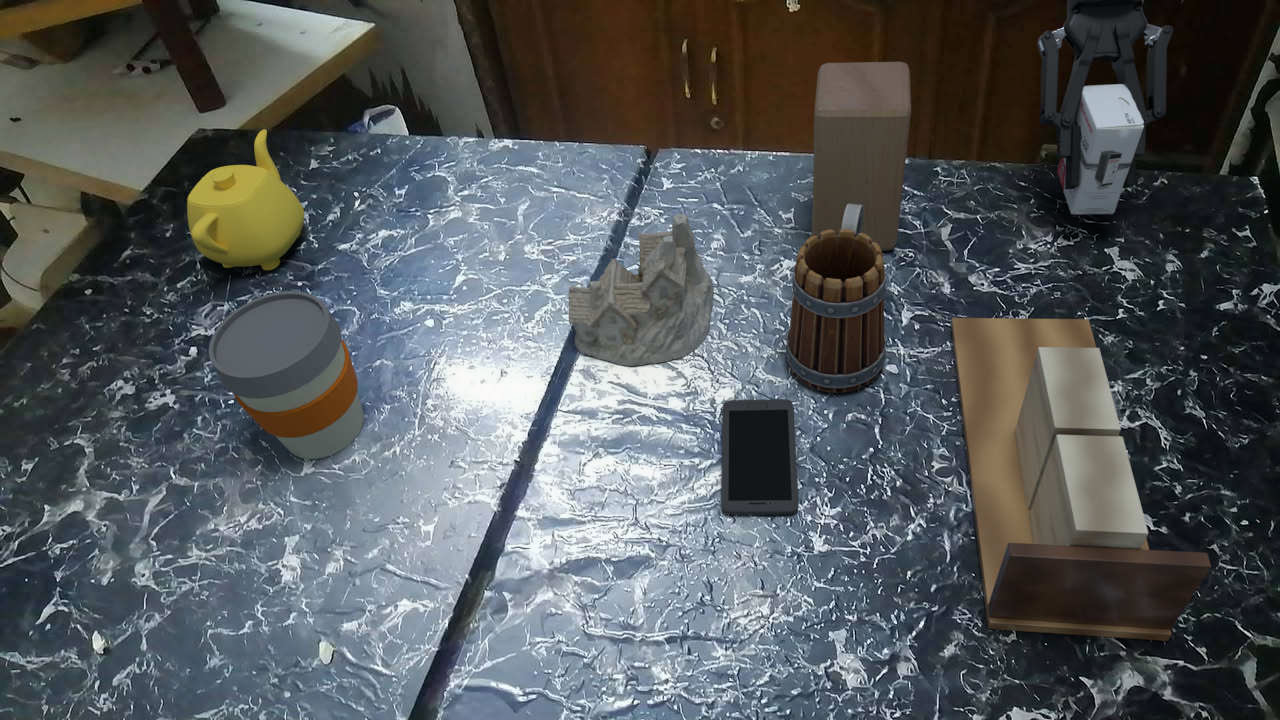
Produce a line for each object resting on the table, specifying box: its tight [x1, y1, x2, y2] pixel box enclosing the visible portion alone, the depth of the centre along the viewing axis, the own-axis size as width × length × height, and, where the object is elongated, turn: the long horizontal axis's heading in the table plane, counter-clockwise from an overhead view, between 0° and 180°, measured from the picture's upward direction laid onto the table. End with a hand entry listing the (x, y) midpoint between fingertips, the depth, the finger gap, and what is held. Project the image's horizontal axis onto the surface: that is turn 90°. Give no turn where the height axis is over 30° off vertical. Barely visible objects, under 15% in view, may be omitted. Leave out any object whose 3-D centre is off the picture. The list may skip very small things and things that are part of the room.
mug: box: [785, 204, 887, 393], centre depth 97 cm, size 16×11×15 cm
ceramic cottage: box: [567, 213, 715, 367], centre depth 104 cm, size 16×16×15 cm
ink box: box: [1056, 83, 1144, 215], centre depth 104 cm, size 9×5×12 cm, turn 174°
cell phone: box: [720, 398, 799, 516], centre depth 93 cm, size 7×14×1 cm, turn 176°
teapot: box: [186, 128, 306, 271], centre depth 123 cm, size 13×20×12 cm
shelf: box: [950, 317, 1212, 642], centre depth 84 cm, size 14×36×13 cm, turn 172°
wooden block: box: [811, 61, 912, 252], centre depth 108 cm, size 10×10×20 cm
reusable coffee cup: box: [208, 290, 365, 460], centre depth 97 cm, size 13×12×15 cm
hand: (1099, 186), depth 103 cm, fingers closed on ink box, 5 cm apart
